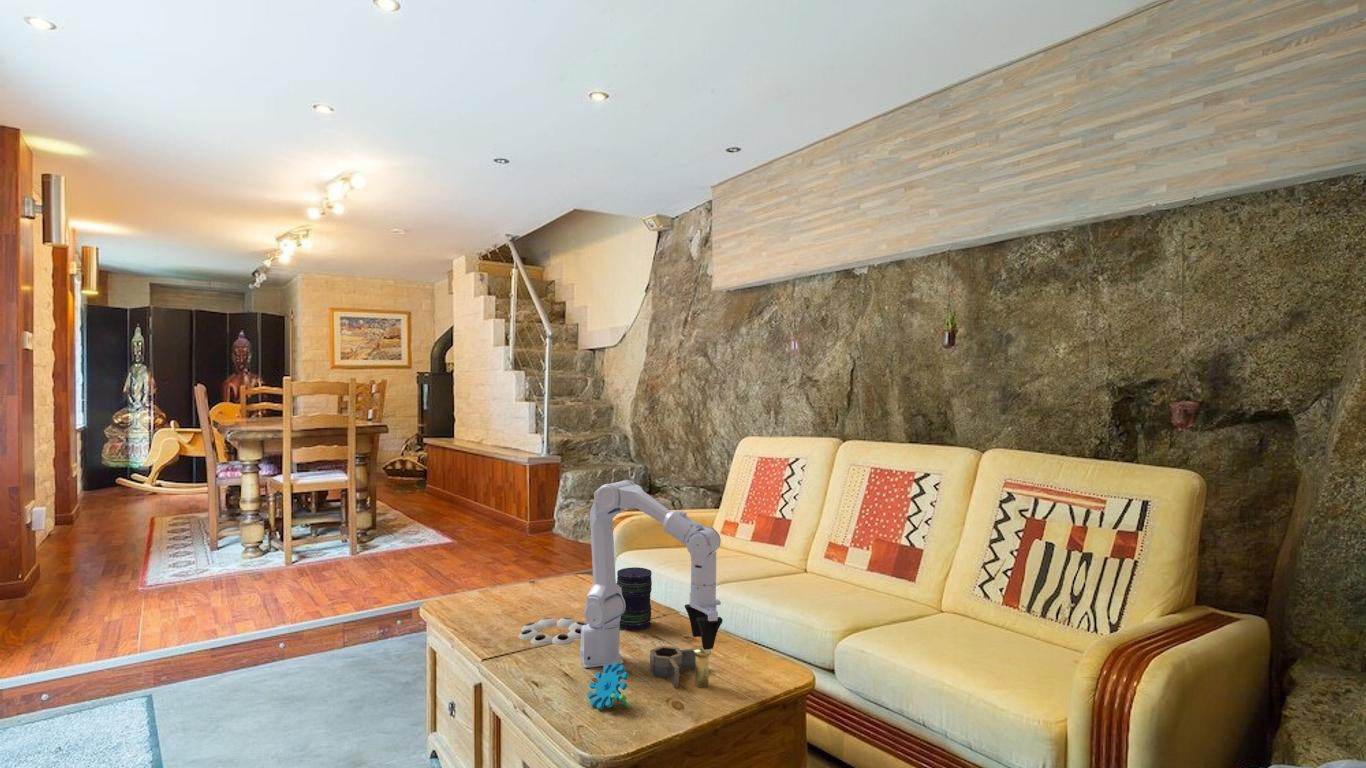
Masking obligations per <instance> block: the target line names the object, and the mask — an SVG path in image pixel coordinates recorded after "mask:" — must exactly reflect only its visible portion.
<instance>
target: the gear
mask: <svg viewBox="0 0 1366 768" xmlns="http://www.w3.org/2000/svg"><path fill="white" fill-rule="evenodd" d="M602 667H603V669H602V670H603V673H602V672H600V671H597V672H596V673H595V674H594V677H595V678H596V680H597V683H595V681H593V680H591V682H590V683H589V685H588V687H589V688H590V689H592V690H593V689H594V690H595V691H594V692H592V691H588V693H587V699H590V701H589V703H590V706H591V707H593V708H595V707H596V708H597V709H599V710H601V711H602V710H603V709H604V706H606V707H607V708H611V707H613V701H615V702H617V703H618V704H620V705H621V706H622V705H623V706H625V707H626V708H628V709H630V708H631V704H630V703H629V702H627V697H626V696H625V695H624V694H623V693H622V692H621V691H620V690H619V688H620V689H621V690H622V691H625V690H626V689H627V687H628V684H627V683H626V682H625V681H621V680H622V679H623V680H628V679H629V673H628V672H627V671H626V667H625V666H624V664H617V663H615V662H614V663H613V664H612V665H605V666H602ZM594 698H595V699H594Z"/></svg>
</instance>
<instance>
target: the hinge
mask: <svg viewBox="0 0 1366 768" xmlns="http://www.w3.org/2000/svg"><path fill="white" fill-rule="evenodd" d="M693 649H694V648H685V649H680V648H679V647H675V646H668V645H667V646H665V645H663V646H662V645H660V646H658V647H655V648H653V649H650V651H649V671H650V672H651V674H652V676H653V677H657V678H664V679H665V678H666V679H668V680H669V682H670V684H671V685H672V687H673V688H674V689H678V688H680V687H679V685H680V683H679V682H680V675H682V674H683V671H686V670H687V671H688V670H689V669H690V670H695V655H694V653H693Z"/></svg>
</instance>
